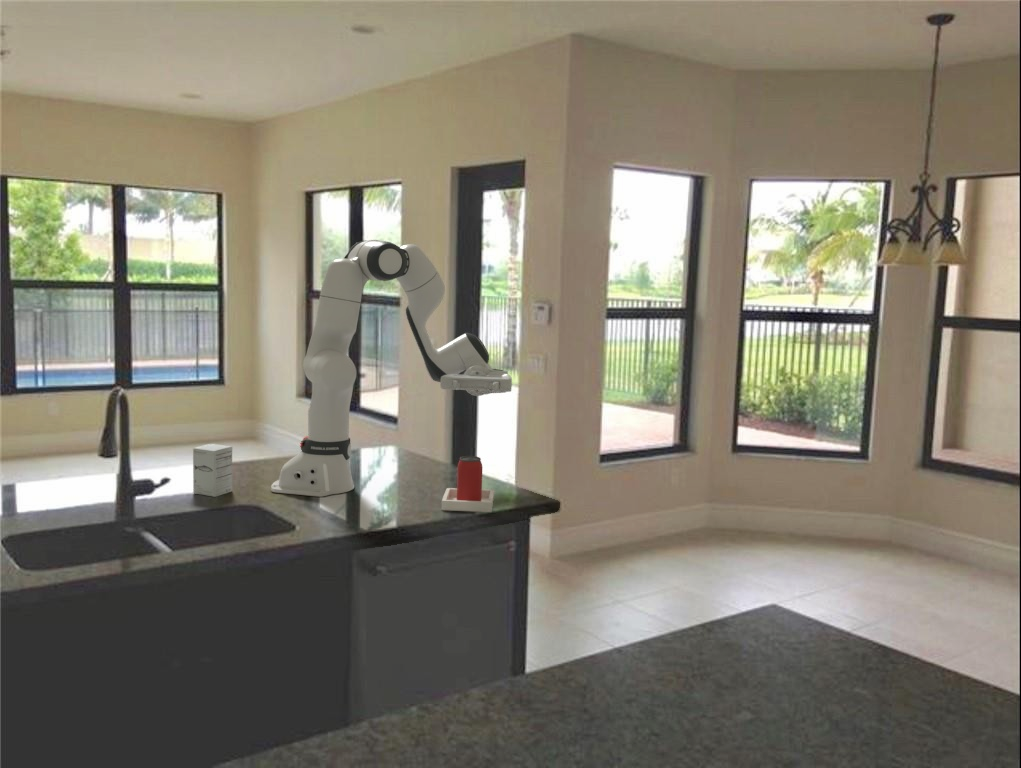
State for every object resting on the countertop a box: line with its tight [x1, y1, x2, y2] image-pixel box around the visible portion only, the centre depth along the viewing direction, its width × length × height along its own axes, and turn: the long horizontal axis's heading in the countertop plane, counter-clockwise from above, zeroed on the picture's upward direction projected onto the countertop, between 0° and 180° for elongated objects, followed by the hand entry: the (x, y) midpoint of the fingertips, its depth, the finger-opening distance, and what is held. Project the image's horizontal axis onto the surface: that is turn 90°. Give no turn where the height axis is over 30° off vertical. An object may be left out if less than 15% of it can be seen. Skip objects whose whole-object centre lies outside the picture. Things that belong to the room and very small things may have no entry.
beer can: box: [456, 455, 483, 501], centre depth 223 cm, size 7×7×12 cm
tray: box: [441, 487, 495, 513], centre depth 223 cm, size 13×13×2 cm
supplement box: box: [192, 443, 233, 498], centre depth 225 cm, size 7×7×13 cm
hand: (474, 386), depth 231 cm, fingers open, 8 cm apart
